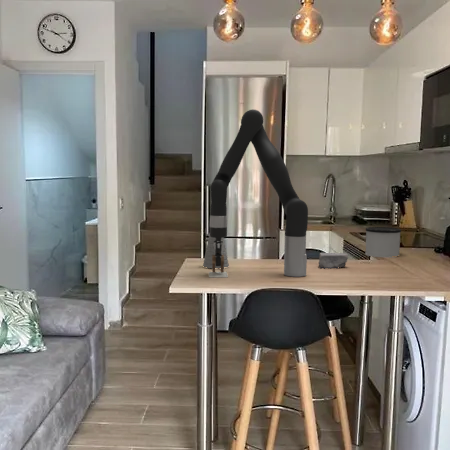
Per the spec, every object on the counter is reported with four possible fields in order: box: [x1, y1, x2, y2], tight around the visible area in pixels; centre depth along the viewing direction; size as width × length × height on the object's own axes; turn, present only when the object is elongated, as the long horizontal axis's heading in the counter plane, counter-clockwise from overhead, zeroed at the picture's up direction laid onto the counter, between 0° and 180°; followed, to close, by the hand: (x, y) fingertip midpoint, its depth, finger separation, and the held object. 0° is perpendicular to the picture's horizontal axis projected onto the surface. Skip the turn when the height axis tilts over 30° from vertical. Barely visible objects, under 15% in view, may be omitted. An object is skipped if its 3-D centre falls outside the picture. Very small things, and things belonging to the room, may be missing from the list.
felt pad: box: [208, 271, 229, 278], centre depth 207 cm, size 8×11×1 cm
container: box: [364, 226, 402, 258], centre depth 268 cm, size 19×19×15 cm
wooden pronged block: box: [211, 255, 225, 273], centre depth 206 cm, size 5×5×7 cm
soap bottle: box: [202, 235, 230, 269], centre depth 226 cm, size 12×12×20 cm
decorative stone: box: [318, 252, 349, 269], centre depth 228 cm, size 15×7×10 cm
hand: (218, 264), depth 206 cm, fingers closed on wooden pronged block, 5 cm apart
